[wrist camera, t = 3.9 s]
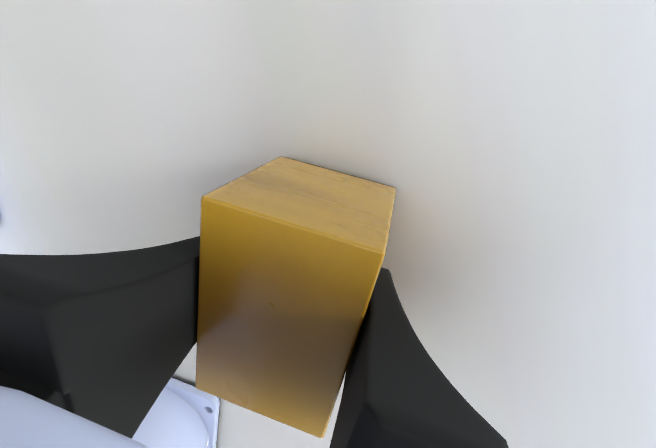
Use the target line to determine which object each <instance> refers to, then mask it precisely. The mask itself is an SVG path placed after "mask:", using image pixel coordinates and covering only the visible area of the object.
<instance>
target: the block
mask: <svg viewBox="0 0 656 448" xmlns="http://www.w3.org/2000/svg"><path fill="white" fill-rule="evenodd" d="M395 193H396V189H395V188H394V187H390V186H386V185H383V184H379V183H375V182H372V181H368V180H365V179H361V178H357V177H354V176H350V175H347V174H343V173H339V172H336V171H332V170H328V169H325V168H321V167H318V166H314V165H310V164H307V163H303V162H299V161H296V160H292V159H289V158H285V157H278V158H276V159H274V160H272V161H270V162H268V163H266V164H264V165H262V166H261V167H259V168H257V169H255V170H253V171H251V172H249V173H247V174H245V175H243V176H241V177H239V178H237V179H235V180H233V181H231V182H229V183H227V184H225V185H223V186H221V187H219V188H217V189H215V190H213V191H212V192H210V193H208V194H206V195H204V196H202V198H201V223H200V256H199V289H198V322H197V355H196V388H197V389H198V390H201V391H203V392H206V393H209V394H211V395H214V396H216V397H219V398H221V399H224V400H226V401H229V402H231V403H234V404H236V405H239V406H241V407H244V408H246V409H249V410H251V411H254V412H256V413H259V414H261V415H264V416H266V417H269V418H271V419H274V420H276V421H279V422H281V423H284V424H286V425H289V426H291V427H294V428H296V429H299V430H301V431H304V432H306V433H309V434H311V435H314V436H316V437H319V438H323V437H324V434H325V431H326V428H327V426H328V423H329V420H330V417H331V414H332V411H333V408H334V405H335V402H336V399H337V396H338V393H339V390H340V387H341V384H342V381H343V378H344V375H345V372H346V369H347V366H348V363H349V360H350V357H351V354H352V351H353V348H354V345H355V342H356V340H357V337H358V334H359V331H360V328H361V325H362V322H363V319H364V316H365V313H366V310H367V307H368V304H369V301H370V298H371V295H372V292H373V289H374V286H375V283H376V280H377V277H378V274H379V271H380V268H381V265H382V262H383V259H384V257H385V253H386V247H387V241H388V235H389V229H390V223H391V217H392V211H393V205H394V199H395Z"/></svg>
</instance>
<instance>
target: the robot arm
mask: <svg viewBox="0 0 656 448" xmlns="http://www.w3.org/2000/svg"><path fill="white" fill-rule="evenodd" d="M199 256H200V236H198V237H194V238H190V239H186V240H182V241H178V242H174V243H170V244H166V245H161V246H155V247H150V248H143V249H137V250H129V251H120V252H110V253H100V254H83V255H9V254H0V448H216V441H217V429H218V416H219V404H220V402H219V399H218V397H216V396H214V395H211V394H209V393H206V392H203V391H201V390H198V389H197V388H196V387H194V386H192V385H189V384H187V383H184V382H182V381H179V380H177V379H174V378H172V376H173V374H174V373H175V371H176V370H177V368H178V367H179V365H180V364H181V363H182V361H183V360H184V358H185V357H186V356H187V354H188V353H189V351H190V350H191V349H192V347H193V346H194V344H195V343H196V342H197V322H198V289H199ZM330 448H508V445H507V442H506V440H505V439H504V438H503V437H502V436H501V435H500V434H499V433H498V432H497V431H496V430H495V429H494V428H493V427H492V426H491V425H490V424H489V423H488V422H487V421H486V420H485V419H484V418H483V417H482V416H481V415H480V414H479V413H478V412H476V411H475V410H474V409H473V407H472V406H471V405H470V404H469V403H468V402H467V401H466V400H465V399H464V398H463V397H462V395H461V394H460V393H459V392H458V391H457V390H456V389H455V388H454V386H453V385H452V384H451V383H450V382H449V380H448V379H447V378H446V377H445V376H444V374H443V373H442V372H441V370H440V369H439V368H438V366H437V365H436V364H435V363H434V361H433V360H432V359H431V357H430V356H429V354H428V353H427V351H426V350H425V348H424V347H423V345H422V344H421V342H420V340H419V339H418V337H417V336H416V334H415V332H414V330H413V328H412V326H411V324H410V322H409V320H408V318H407V316H406V314H405V312H404V310H403V307H402V305H401V303H400V300H399V298H398V295H397V293H396V290H395V287H394V284H393V280H392V277H391V273H390V271H389V270H388V269H385V268H380V271H379V274H378V277H377V280H376V283H375V286H374V289H373V292H372V295H371V298H370V301H369V304H368V307H367V310H366V313H365V316H364V319H363V322H362V325H361V328H360V331H359V334H358V337H357V340H356V342H355V345H354V348H353V351H352V354H351V357H350V360H349V363H348V366H347V369H346V375H345V382H344V388H343V394H342V399H341V403H340V407H339V411H338V415H337V420H336V424H335V428H334V432H333V436H332V440H331V444H330Z"/></svg>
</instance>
